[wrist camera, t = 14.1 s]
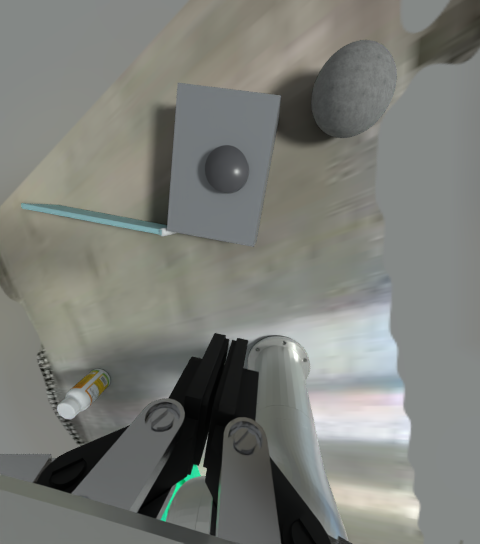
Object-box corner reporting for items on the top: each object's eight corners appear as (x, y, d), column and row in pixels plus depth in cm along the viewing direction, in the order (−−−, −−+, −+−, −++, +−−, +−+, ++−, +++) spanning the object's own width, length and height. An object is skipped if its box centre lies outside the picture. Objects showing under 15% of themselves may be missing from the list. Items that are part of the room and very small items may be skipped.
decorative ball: (361, 57, 33) (399, -9, 23) (383, 125, 34) (427, 91, 25) (296, 96, 35) (306, 51, 25) (320, 158, 37) (338, 138, 27)
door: (182, 226, 42) (165, 229, 36) (181, 233, 43) (165, 236, 36) (57, 203, 44) (21, 202, 38) (58, 210, 45) (21, 209, 38)
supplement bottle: (88, 380, 55) (50, 414, 46) (94, 364, 54) (56, 395, 44) (107, 390, 55) (74, 426, 46) (114, 375, 54) (81, 409, 44)
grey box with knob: (256, 241, 41) (252, 248, 33) (183, 228, 42) (162, 231, 34) (279, 117, 36) (281, 88, 28) (194, 106, 37) (172, 75, 29)
